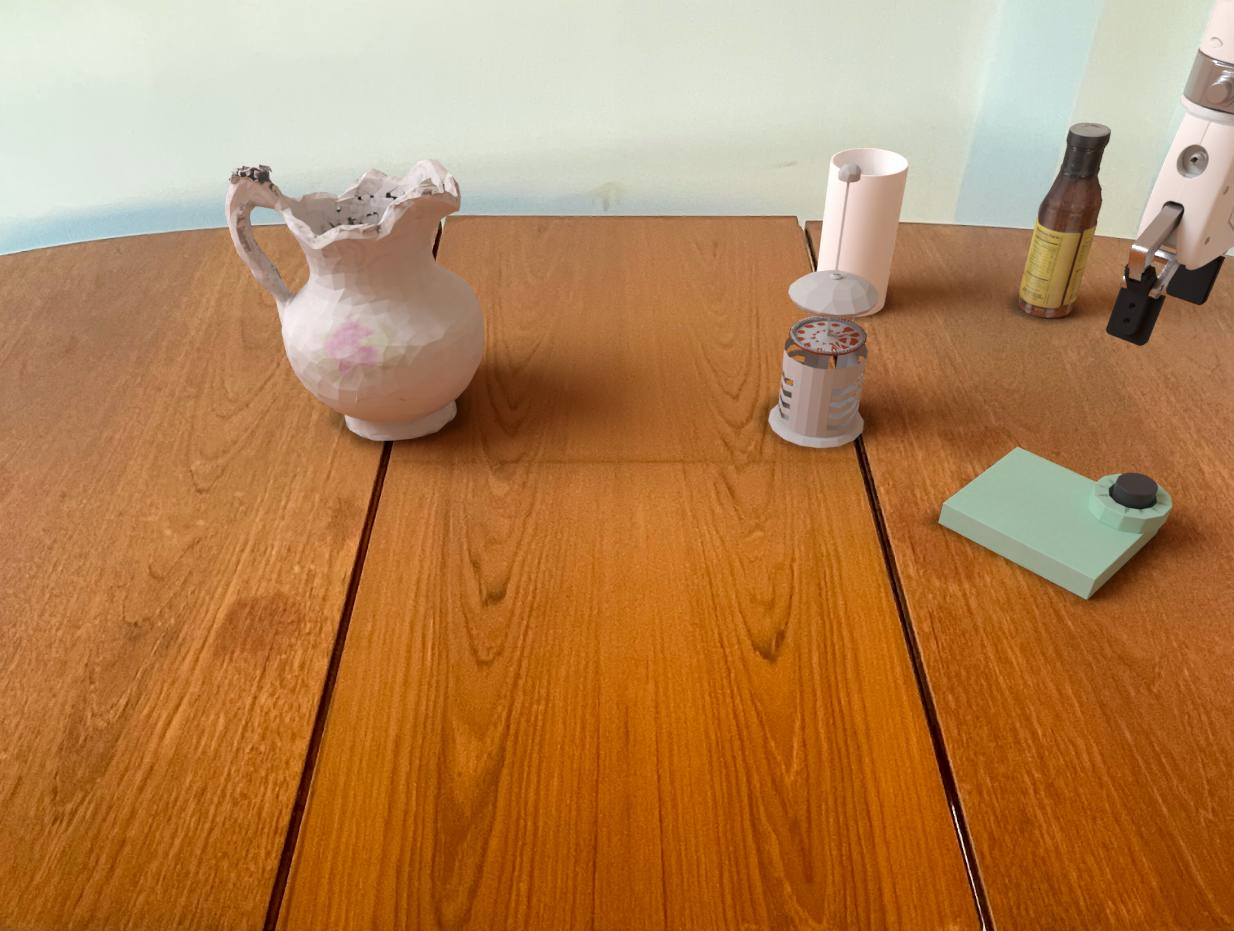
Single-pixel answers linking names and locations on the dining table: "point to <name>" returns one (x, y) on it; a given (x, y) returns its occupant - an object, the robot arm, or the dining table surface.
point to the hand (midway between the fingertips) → (1155, 318)
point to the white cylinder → (864, 216)
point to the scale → (1053, 520)
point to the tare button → (1134, 490)
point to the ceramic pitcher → (370, 297)
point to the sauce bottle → (1065, 226)
